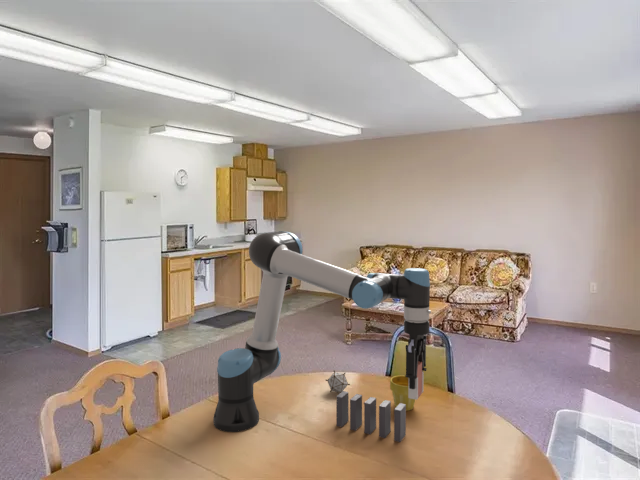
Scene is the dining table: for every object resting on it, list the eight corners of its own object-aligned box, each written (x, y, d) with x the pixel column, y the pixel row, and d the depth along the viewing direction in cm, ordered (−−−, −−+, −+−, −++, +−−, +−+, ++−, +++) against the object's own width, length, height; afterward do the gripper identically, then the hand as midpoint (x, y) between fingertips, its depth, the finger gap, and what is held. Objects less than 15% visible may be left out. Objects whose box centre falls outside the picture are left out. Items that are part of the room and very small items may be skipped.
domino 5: (394, 440, 141) (394, 409, 140) (399, 433, 145) (399, 403, 144) (400, 442, 140) (400, 410, 139) (405, 435, 144) (405, 404, 143)
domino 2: (350, 429, 148) (350, 399, 147) (356, 422, 152) (356, 393, 151) (355, 430, 147) (355, 400, 146) (362, 424, 151) (362, 395, 151)
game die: (342, 400, 178) (357, 381, 178) (332, 400, 172) (348, 380, 171) (327, 384, 184) (342, 365, 183) (317, 383, 177) (332, 363, 176)
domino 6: (421, 393, 141) (422, 361, 140) (416, 399, 136) (417, 367, 135) (415, 392, 141) (415, 360, 141) (410, 398, 137) (410, 365, 136)
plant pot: (424, 410, 161) (425, 383, 161) (399, 415, 158) (399, 387, 157) (408, 398, 171) (409, 373, 170) (384, 403, 167) (384, 377, 166)
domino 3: (364, 432, 145) (364, 402, 145) (370, 426, 150) (370, 396, 149) (370, 434, 144) (370, 403, 144) (376, 427, 149) (376, 398, 148)
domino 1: (336, 425, 150) (336, 396, 150) (343, 419, 155) (343, 390, 154) (341, 427, 149) (341, 397, 149) (348, 420, 154) (348, 392, 153)
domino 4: (378, 436, 143) (379, 405, 142) (384, 429, 147) (384, 399, 147) (384, 438, 142) (385, 407, 141) (390, 431, 146) (390, 401, 146)
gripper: (420, 328, 127) (419, 409, 129) (436, 314, 143) (436, 387, 145) (394, 325, 131) (394, 403, 133) (413, 312, 147) (413, 382, 149)
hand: (415, 394), depth 139 cm, fingers closed on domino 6, 5 cm apart
